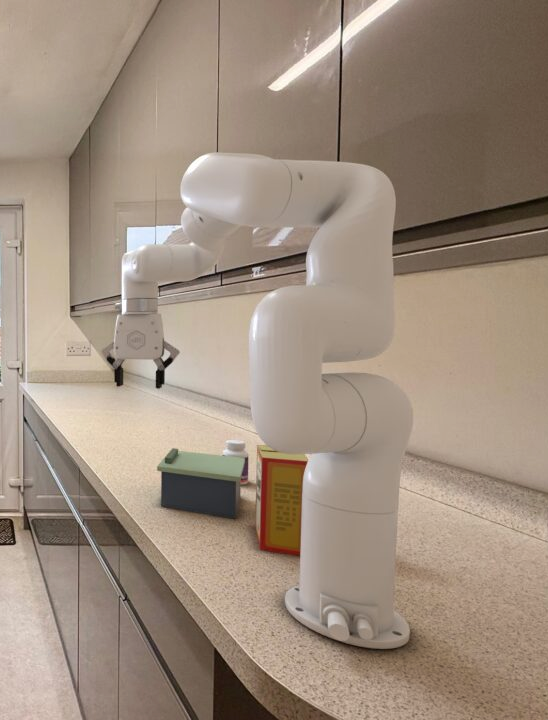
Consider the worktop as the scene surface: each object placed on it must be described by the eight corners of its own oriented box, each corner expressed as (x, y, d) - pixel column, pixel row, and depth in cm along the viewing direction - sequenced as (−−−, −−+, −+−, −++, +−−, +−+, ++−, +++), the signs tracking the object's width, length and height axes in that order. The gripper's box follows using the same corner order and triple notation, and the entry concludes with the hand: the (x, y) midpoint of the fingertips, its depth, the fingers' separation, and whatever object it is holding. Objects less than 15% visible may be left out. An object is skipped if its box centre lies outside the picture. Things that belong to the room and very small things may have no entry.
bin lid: (240, 482, 94) (240, 470, 94) (157, 470, 102) (157, 460, 102) (244, 462, 107) (245, 452, 106) (170, 454, 115) (170, 444, 114)
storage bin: (235, 519, 95) (236, 480, 95) (161, 506, 103) (161, 470, 102) (240, 497, 107) (241, 463, 106) (173, 487, 114) (173, 455, 114)
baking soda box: (306, 556, 80) (309, 459, 79) (260, 549, 83) (262, 455, 82) (297, 534, 88) (300, 445, 87) (255, 528, 91) (257, 442, 90)
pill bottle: (244, 479, 119) (244, 439, 118) (251, 486, 114) (252, 444, 113) (219, 477, 120) (220, 438, 120) (225, 484, 115) (226, 443, 115)
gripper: (95, 308, 110) (95, 386, 112) (178, 306, 101) (177, 391, 102) (105, 309, 117) (105, 383, 118) (185, 306, 107) (183, 386, 109)
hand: (138, 386), depth 110 cm, fingers open, 7 cm apart
